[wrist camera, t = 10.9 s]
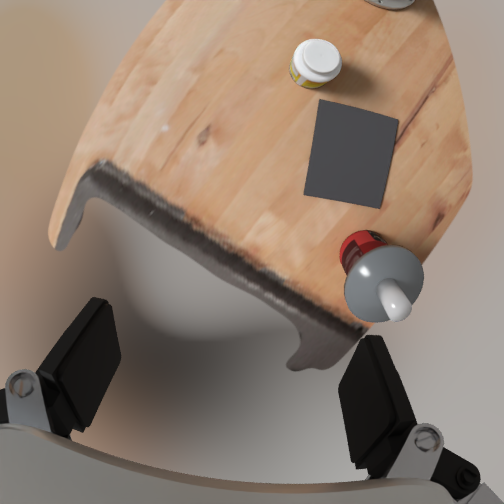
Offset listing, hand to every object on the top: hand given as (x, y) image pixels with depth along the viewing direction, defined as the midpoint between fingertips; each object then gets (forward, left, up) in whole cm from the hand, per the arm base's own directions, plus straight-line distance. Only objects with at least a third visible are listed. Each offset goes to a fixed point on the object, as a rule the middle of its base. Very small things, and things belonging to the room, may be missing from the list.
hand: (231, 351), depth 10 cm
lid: (+9, +18, -23) cm, 31 cm away
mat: (-5, +13, -34) cm, 37 cm away
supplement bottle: (-16, +5, -34) cm, 38 cm away
